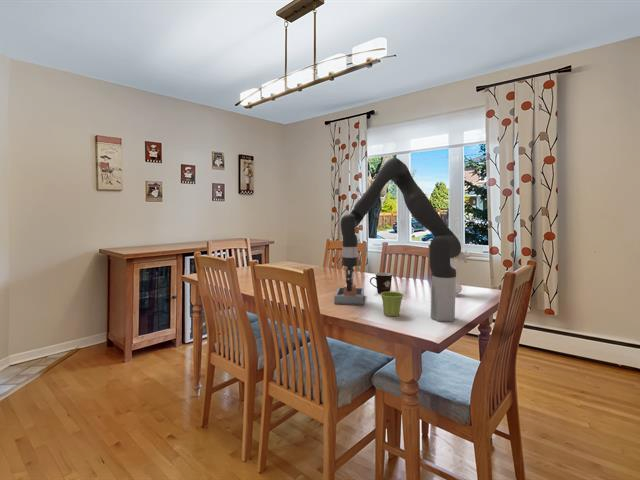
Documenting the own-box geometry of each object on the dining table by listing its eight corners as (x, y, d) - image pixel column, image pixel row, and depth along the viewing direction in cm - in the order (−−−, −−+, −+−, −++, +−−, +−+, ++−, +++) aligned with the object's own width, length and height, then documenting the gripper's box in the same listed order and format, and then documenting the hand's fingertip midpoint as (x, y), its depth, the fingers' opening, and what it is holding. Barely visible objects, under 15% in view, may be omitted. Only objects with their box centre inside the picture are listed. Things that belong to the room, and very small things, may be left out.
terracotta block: (355, 299, 169) (355, 287, 168) (343, 299, 170) (343, 286, 169) (355, 296, 174) (355, 284, 174) (344, 296, 175) (344, 284, 175)
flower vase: (472, 293, 183) (474, 245, 181) (455, 299, 171) (456, 248, 169) (448, 289, 193) (450, 243, 191) (430, 295, 180) (432, 246, 178)
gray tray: (362, 304, 162) (362, 296, 162) (334, 303, 164) (334, 295, 164) (363, 295, 180) (363, 288, 180) (338, 294, 182) (338, 287, 182)
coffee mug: (391, 291, 189) (391, 272, 188) (392, 295, 181) (393, 275, 180) (369, 290, 190) (369, 272, 190) (369, 294, 182) (370, 275, 181)
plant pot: (386, 310, 154) (387, 290, 153) (407, 314, 148) (407, 293, 147) (375, 315, 147) (376, 294, 146) (396, 319, 141) (396, 298, 140)
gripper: (357, 258, 163) (356, 292, 164) (358, 254, 177) (358, 286, 178) (340, 257, 164) (340, 292, 165) (343, 254, 178) (343, 285, 179)
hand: (349, 289), depth 171 cm, fingers open, 8 cm apart
